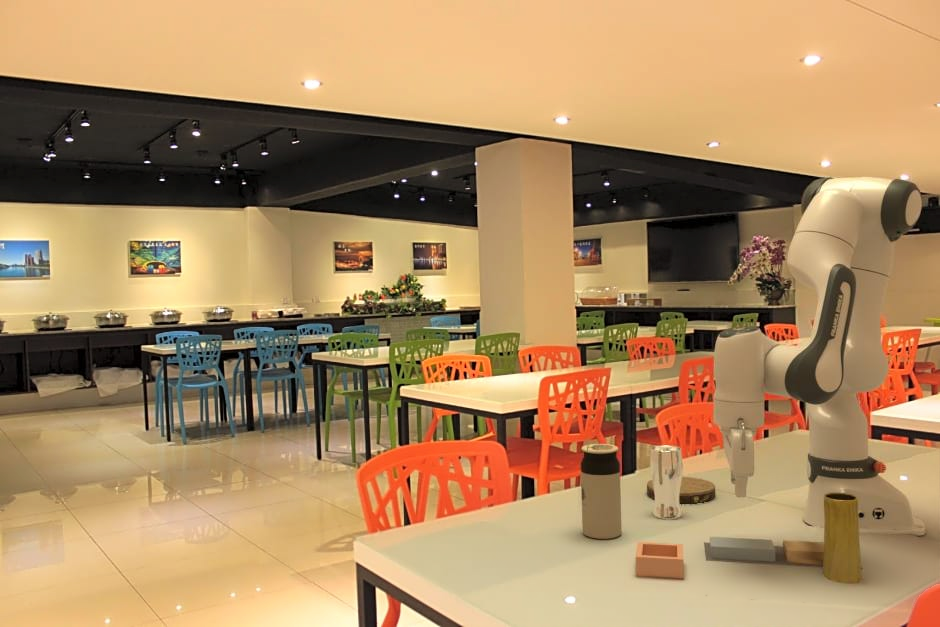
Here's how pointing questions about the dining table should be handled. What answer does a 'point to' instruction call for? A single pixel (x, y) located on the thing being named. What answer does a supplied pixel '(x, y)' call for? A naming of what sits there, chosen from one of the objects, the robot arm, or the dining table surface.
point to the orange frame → (659, 560)
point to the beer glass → (666, 480)
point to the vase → (841, 538)
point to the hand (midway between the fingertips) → (738, 489)
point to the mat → (779, 560)
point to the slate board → (742, 549)
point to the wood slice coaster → (690, 490)
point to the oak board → (803, 552)
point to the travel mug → (601, 491)
